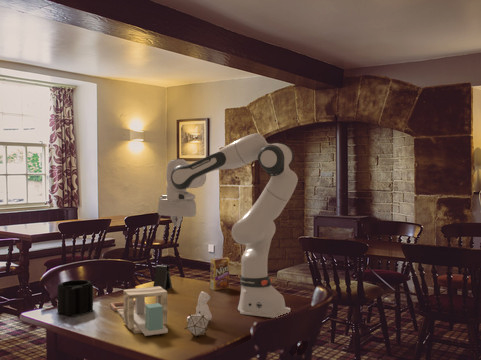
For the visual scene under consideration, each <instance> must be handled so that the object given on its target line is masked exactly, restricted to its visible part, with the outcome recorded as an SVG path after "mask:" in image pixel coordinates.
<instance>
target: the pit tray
mask: <svg viewBox="0 0 481 360" xmlns="http://www.w3.org/2000/svg"><path fill="white" fill-rule="evenodd" d="M146 304H147V302H145V305H146ZM109 305H110V306H109V307H110V309H111V310H112V311H113V312H114V313H117V309H122V308H124V301H119V302H117V301H116V302H110V303H109ZM134 307H135V299H134Z"/></svg>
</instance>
